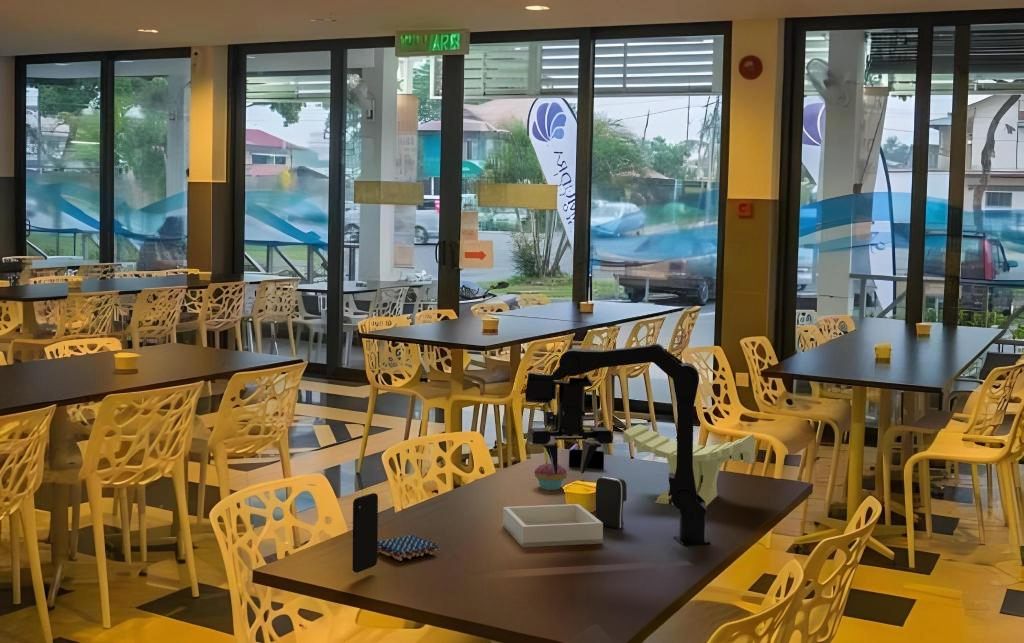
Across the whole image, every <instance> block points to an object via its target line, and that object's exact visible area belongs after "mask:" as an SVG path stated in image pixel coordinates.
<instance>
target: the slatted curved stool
mask: <svg viewBox="0 0 1024 643" xmlns="http://www.w3.org/2000/svg"><path fill="white" fill-rule="evenodd" d="M649 428H650V427H648V426H646V425H643V424H642V423H641V424H639V423H638V424H637V425H634V426H632V427H630V428H627V429H625V430H623V437H622V438H623V440H622V441H623V442H622V443H628V444H629V443H630V444H631V443H633V448H636V453H637V454H638V453H639V454H640V453H644V452H645V453H651V454H654V457H657V458H663V459H665V458H666V460H667V465H668V467H669V470H670V473H674V474H675V470H676V465H677V440H674V439H671V440H670V438H669V437H668V436H665V435H660V433H659V432H657V431H655V430H652V429H649ZM755 450H756V438H755V435H754V434H749V435H747V436H745V437H744V438H739V439H736V440H734V441H730V442H725V443H723V444H712V445H706V446H705V445H698V444H697V445H696V444H693V471H694V476H695V482H696V488H697V493H698V494H699V496H700V497H701V498H702V499H703V500H704V501H705V502H706V507H707V506H708V505H709V504H710V503H711V502H712V501H713V500H715V498H716V497H717V496H718V491H717V490H718V489H717V481H718V476H719V473H720V471H721V468H722V465H723V463H726V462H729V461H730V460H731V461H733V462H741V460H742V462H743V463H747V464H749V465H751V464H753V463H754V462H755V461H756V460H755V455H756V451H755ZM668 489H669V487H668V488H666V490H665V491H664V492H662V493H661V495H659V496H657V499H656V500H655V502H654V503H657V504H662V505H663V504H664V505H672V506H674V505H673V503H672V500H671V496H668Z"/></svg>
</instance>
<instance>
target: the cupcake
mask: <svg viewBox="0 0 1024 643" xmlns="http://www.w3.org/2000/svg"><path fill="white" fill-rule="evenodd" d="M543 452H544V454H543V455H544V460H545V461H544V462H545V464H544V463H543V464H540V465H539V466H537V467H536V468H535V470H534V472H533V473H534V477H535V478H537V481H538V484H539V486H540V489H543V490H546V491H547V490H548V491H553V490H560V488H561V487H562V484H563V482H564V480H566V479H567V476H568V473H567V472H568V471H567V469H566V468H565V467H564V466H562V465H560V464H558V468H557V474H554V472H553V468H552V465H551V463H549V459H548V452H547V450H546V448H545V447H543Z"/></svg>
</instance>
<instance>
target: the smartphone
mask: <svg viewBox="0 0 1024 643" xmlns="http://www.w3.org/2000/svg"><path fill="white" fill-rule="evenodd" d="M378 496H379V495H378V494H377V493H376V492H372V493H368V494H365V495H362V496H358V497H356V498H355V499H353V501H352V571H353V573H356V574H357V573H361V572H363V571H366V570H368V569H370V568H374V567H375V566H376V565H377V563H378V551H377V544H378V542H379V541H378V538H379V537H378V528H379V525H378V523H379V517H378V516H379V497H378Z"/></svg>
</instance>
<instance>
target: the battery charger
mask: <svg viewBox="0 0 1024 643" xmlns="http://www.w3.org/2000/svg"><path fill="white" fill-rule="evenodd" d="M627 493H628V492H627V482H626V481H625V480H624V479H623V478H619V477H616V476H608V475H606V476H601V477H599V478H598V479H597V480H596V482H595V517H596V518H597V519H598V520H600V521H601V522H602V523H603V527H606V528H613V529H621V528H623V527H624V524H625V523H624V520H623V512H624V502H626V501H627V495H628V494H627Z"/></svg>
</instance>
